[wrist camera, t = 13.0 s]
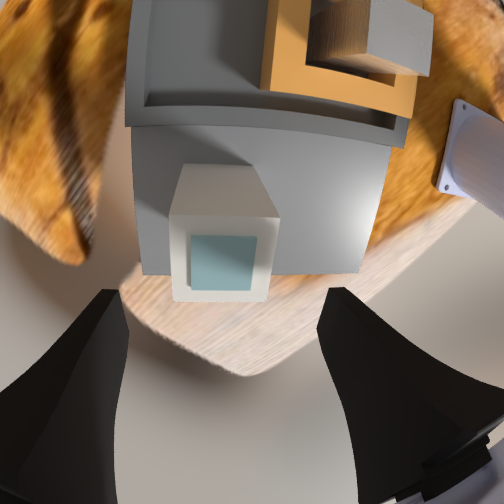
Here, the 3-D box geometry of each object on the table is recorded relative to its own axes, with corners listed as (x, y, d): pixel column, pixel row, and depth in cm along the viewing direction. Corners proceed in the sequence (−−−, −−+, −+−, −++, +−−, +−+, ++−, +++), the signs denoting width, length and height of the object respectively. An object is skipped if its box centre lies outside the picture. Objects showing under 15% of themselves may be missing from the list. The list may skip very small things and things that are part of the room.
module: (253, 166, 17) (281, 220, 11) (246, 227, 19) (266, 304, 13) (183, 163, 16) (168, 217, 10) (182, 225, 18) (173, 304, 12)
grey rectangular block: (358, 29, 13) (433, 14, 7) (353, 72, 14) (429, 76, 8) (311, 16, 12) (371, -15, 6) (306, 62, 14) (366, 53, 8)
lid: (384, 134, 18) (393, 138, 16) (352, 264, 23) (358, 273, 22) (136, 114, 15) (131, 116, 14) (145, 265, 20) (143, 275, 19)
